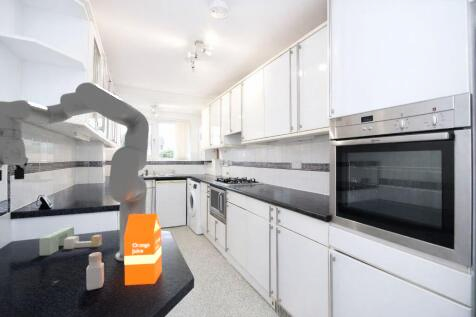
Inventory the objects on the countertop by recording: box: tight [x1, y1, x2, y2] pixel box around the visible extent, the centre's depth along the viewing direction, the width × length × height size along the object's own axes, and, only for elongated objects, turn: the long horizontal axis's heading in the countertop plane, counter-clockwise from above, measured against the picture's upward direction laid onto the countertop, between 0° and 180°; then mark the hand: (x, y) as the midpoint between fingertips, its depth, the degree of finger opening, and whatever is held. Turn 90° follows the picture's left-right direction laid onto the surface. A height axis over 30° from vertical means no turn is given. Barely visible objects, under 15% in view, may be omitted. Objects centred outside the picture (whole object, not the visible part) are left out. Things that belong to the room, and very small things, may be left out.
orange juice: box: [123, 213, 163, 286], centre depth 72 cm, size 8×9×20 cm
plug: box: [63, 234, 103, 250], centre depth 102 cm, size 14×4×4 cm, turn 96°
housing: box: [38, 226, 75, 256], centre depth 101 cm, size 4×16×7 cm, turn 6°
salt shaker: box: [85, 251, 105, 291], centre depth 68 cm, size 4×4×10 cm
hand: (8, 180), depth 87 cm, fingers open, 9 cm apart
